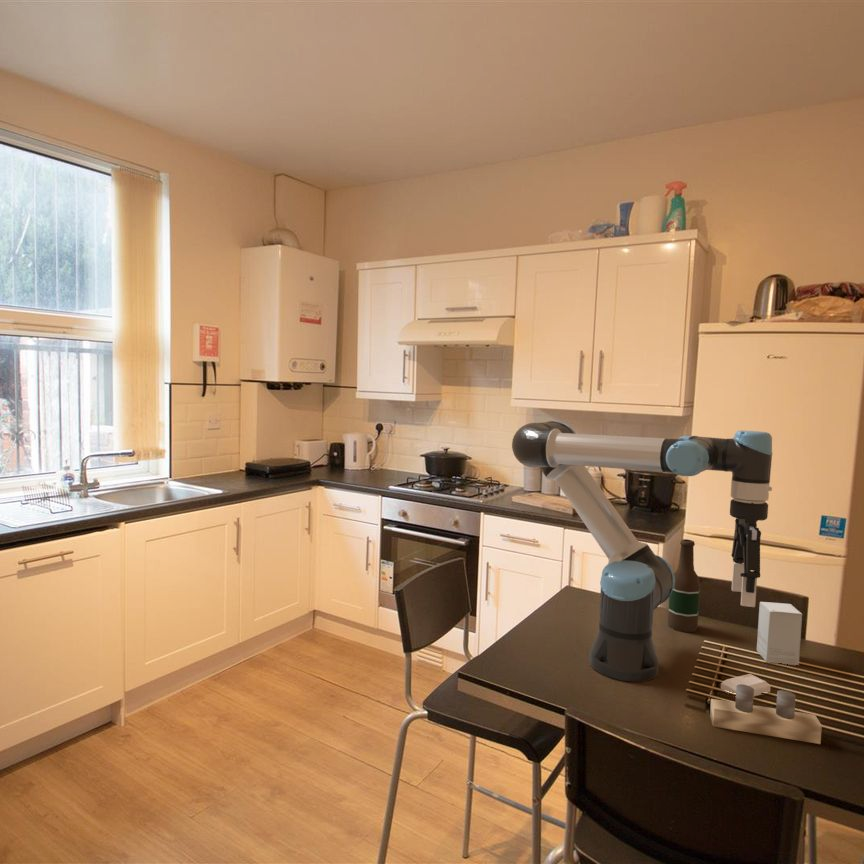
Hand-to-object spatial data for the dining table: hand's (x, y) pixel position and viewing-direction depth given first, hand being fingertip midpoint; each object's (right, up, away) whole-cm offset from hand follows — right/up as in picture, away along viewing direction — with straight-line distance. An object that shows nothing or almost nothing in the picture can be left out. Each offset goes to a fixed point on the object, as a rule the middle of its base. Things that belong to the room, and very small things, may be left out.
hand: (742, 598), depth 138 cm
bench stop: (-7, -19, -22) cm, 30 cm away
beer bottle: (-2, -16, +29) cm, 33 cm away
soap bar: (-3, -19, -7) cm, 20 cm away
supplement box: (+14, -18, +11) cm, 25 cm away
